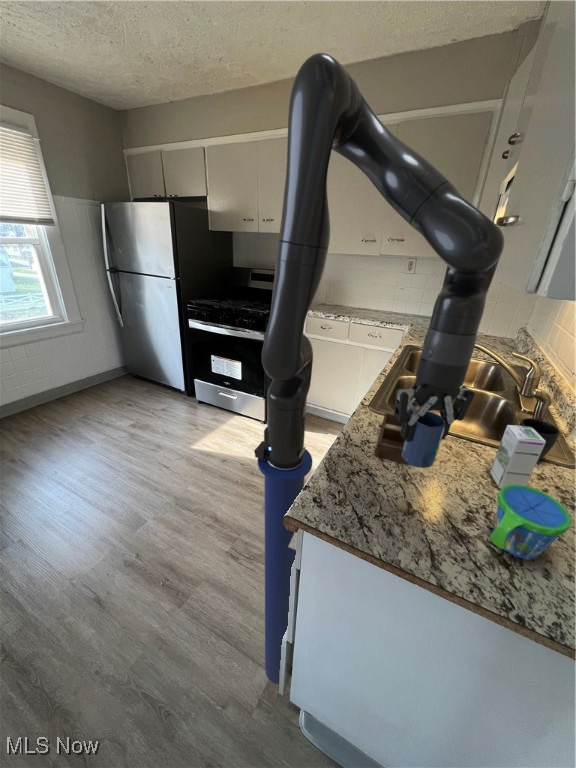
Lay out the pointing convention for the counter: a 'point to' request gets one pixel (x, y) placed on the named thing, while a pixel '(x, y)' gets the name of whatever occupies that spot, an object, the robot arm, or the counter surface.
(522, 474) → the syrup box
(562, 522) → the snack cup
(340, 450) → the counter surface
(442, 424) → the tumbler
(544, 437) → the mug
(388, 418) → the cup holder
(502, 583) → the counter surface
